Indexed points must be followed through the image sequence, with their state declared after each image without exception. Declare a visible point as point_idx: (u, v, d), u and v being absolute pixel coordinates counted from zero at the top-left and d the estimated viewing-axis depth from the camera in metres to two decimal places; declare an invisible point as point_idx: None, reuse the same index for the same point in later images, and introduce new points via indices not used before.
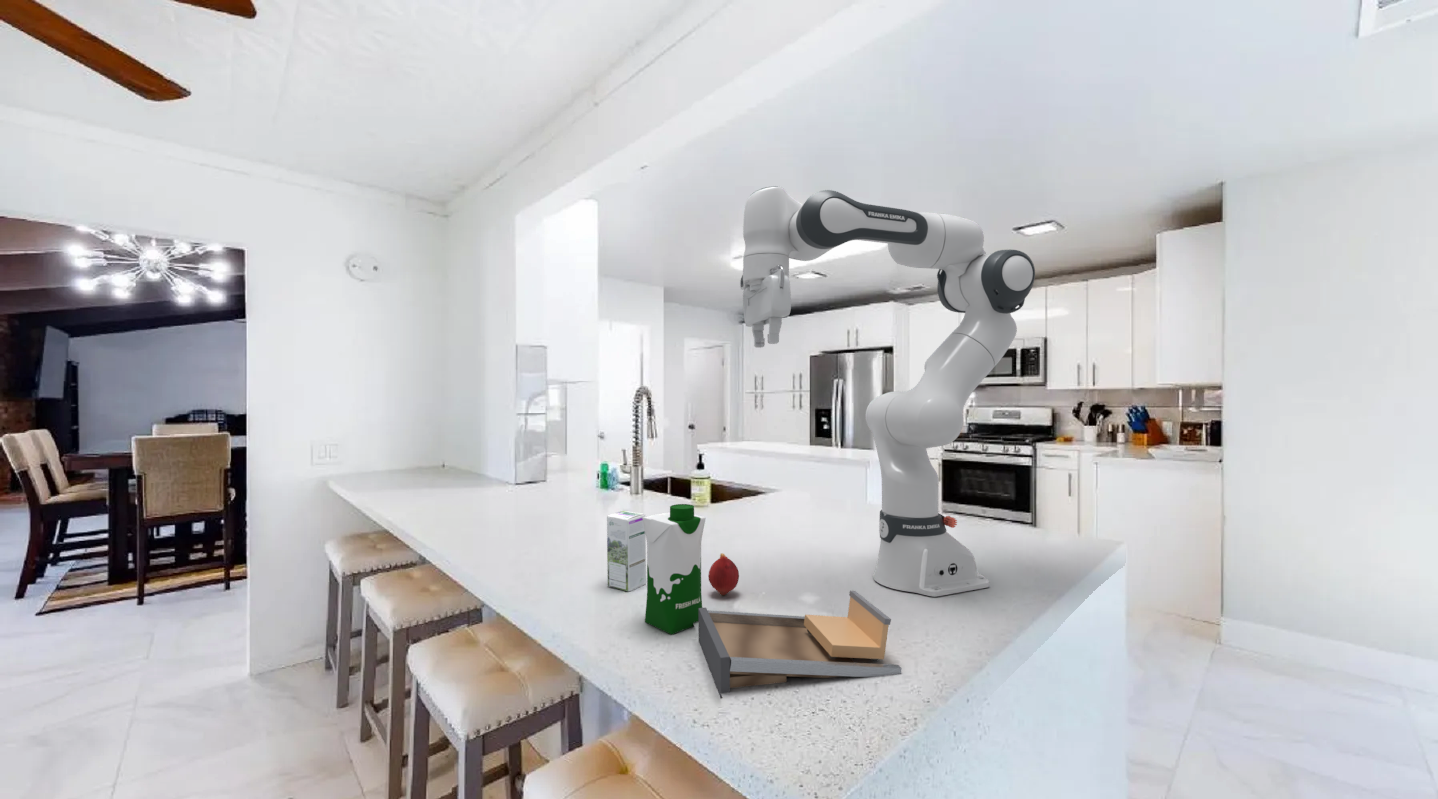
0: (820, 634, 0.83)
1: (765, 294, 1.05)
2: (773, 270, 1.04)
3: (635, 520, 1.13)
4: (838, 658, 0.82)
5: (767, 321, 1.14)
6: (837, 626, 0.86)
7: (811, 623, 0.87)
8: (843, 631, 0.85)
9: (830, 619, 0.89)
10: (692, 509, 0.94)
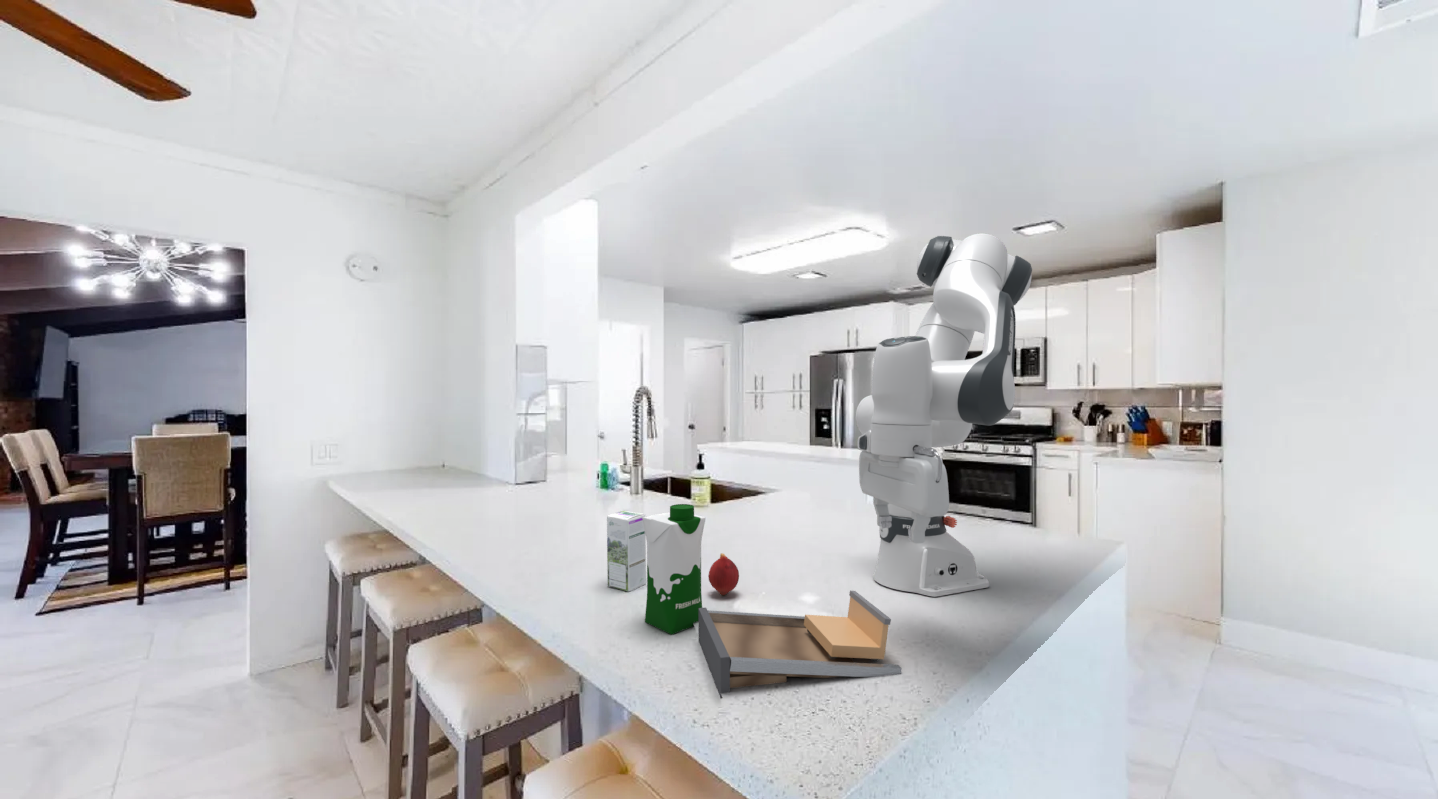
0: (820, 634, 0.83)
1: (908, 479, 0.82)
2: (921, 451, 0.80)
3: (635, 520, 1.13)
4: (838, 658, 0.82)
5: None
6: (837, 626, 0.86)
7: (811, 623, 0.87)
8: (843, 631, 0.85)
9: (830, 619, 0.89)
10: (692, 509, 0.94)
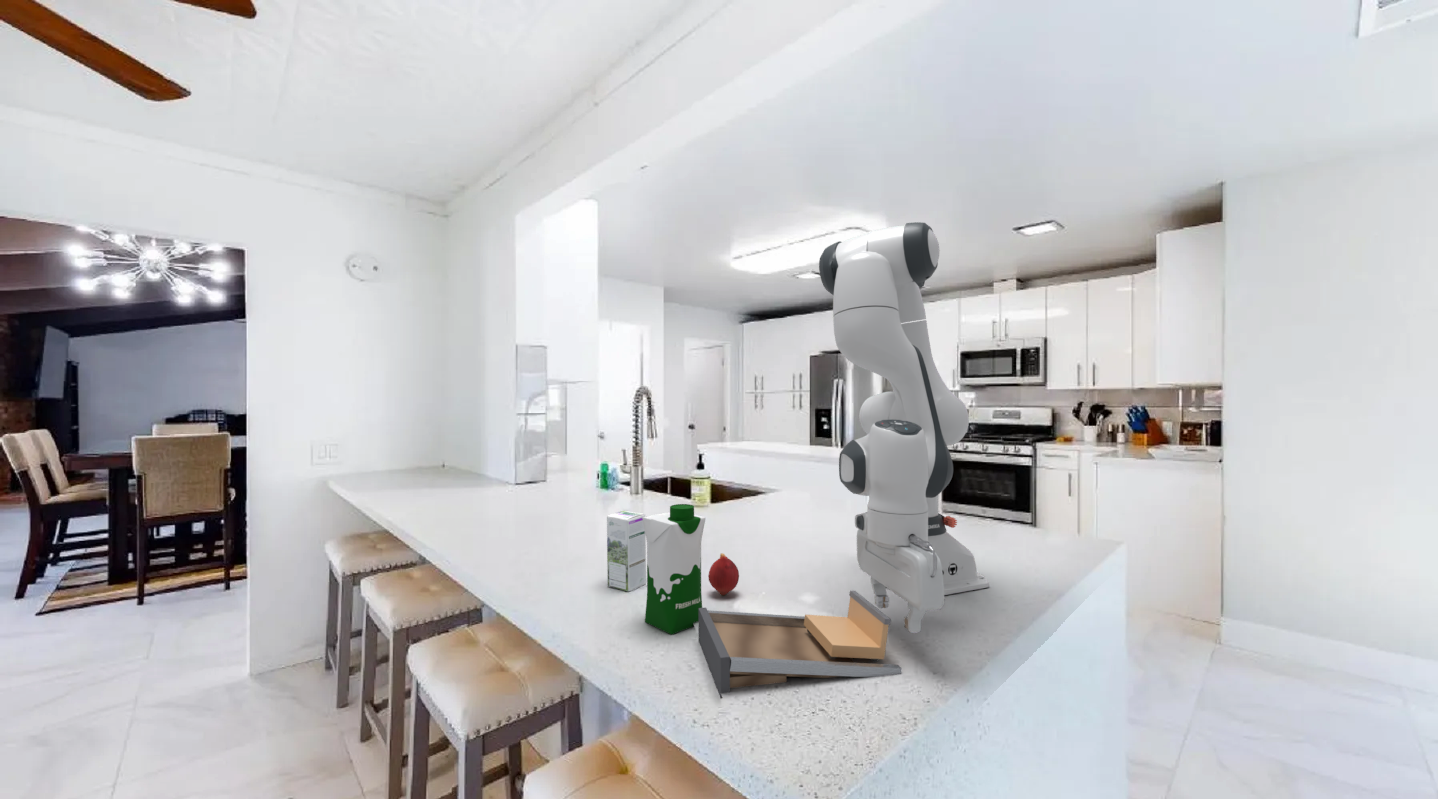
0: (820, 634, 0.83)
1: (903, 569, 0.82)
2: (916, 543, 0.80)
3: (635, 520, 1.13)
4: (838, 658, 0.82)
5: None
6: (837, 626, 0.86)
7: (811, 623, 0.87)
8: (843, 631, 0.85)
9: (830, 619, 0.89)
10: (692, 509, 0.94)
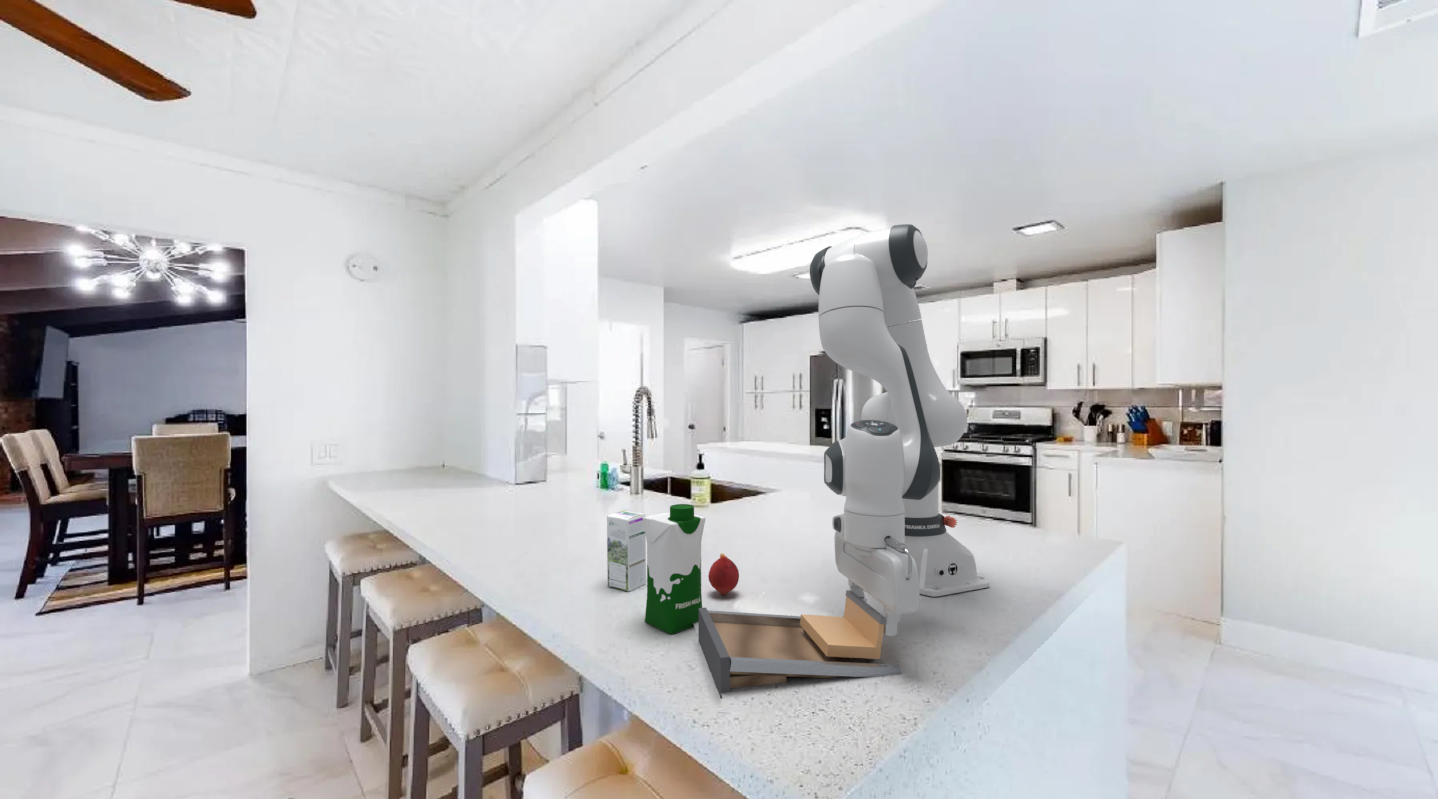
0: (816, 633, 0.83)
1: (879, 571, 0.81)
2: (892, 545, 0.80)
3: (635, 520, 1.13)
4: (838, 658, 0.82)
5: None
6: (833, 626, 0.86)
7: (807, 623, 0.87)
8: (839, 631, 0.85)
9: (826, 618, 0.89)
10: (692, 509, 0.94)
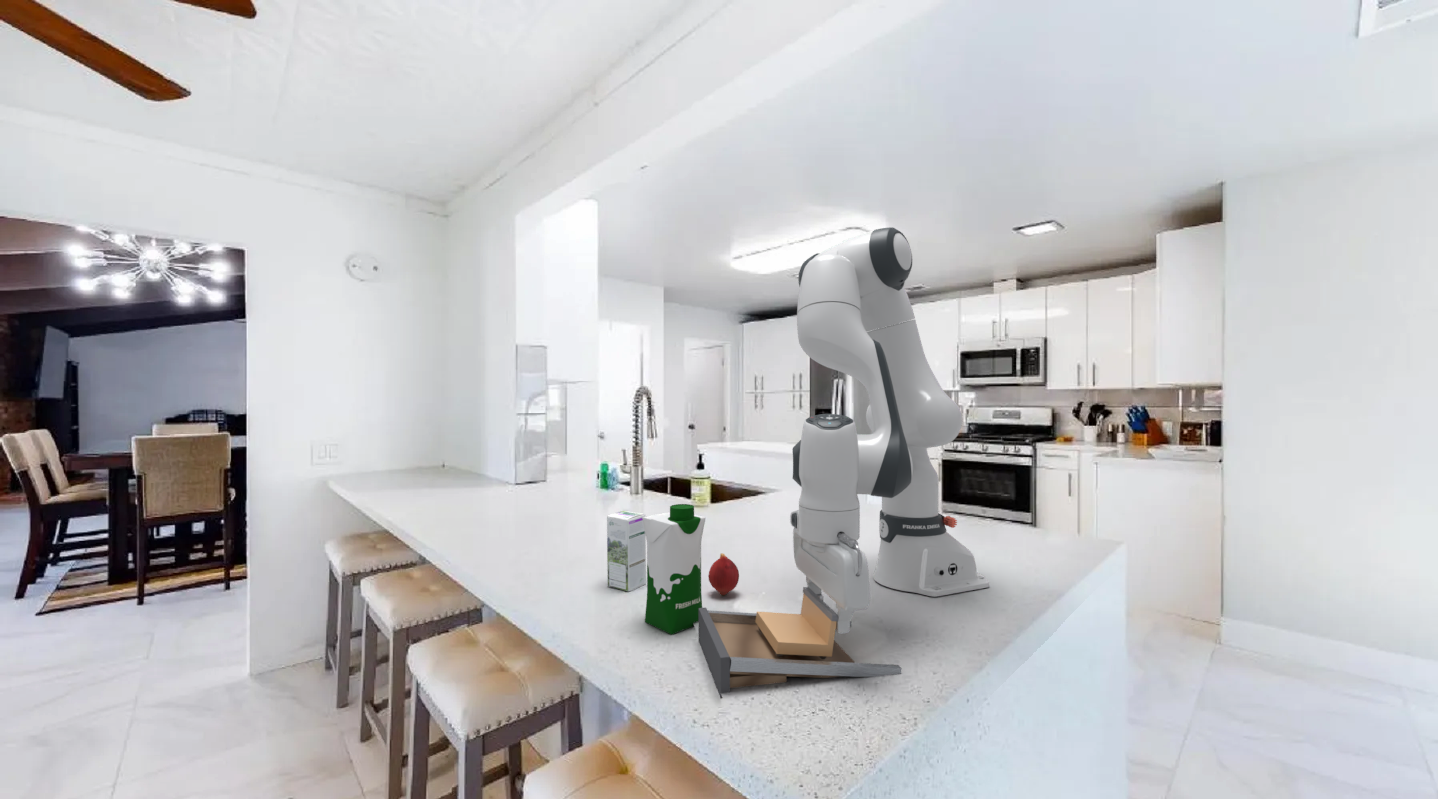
0: (768, 631, 0.82)
1: (832, 568, 0.79)
2: (844, 541, 0.78)
3: (635, 520, 1.13)
4: (838, 658, 0.82)
5: None
6: (787, 623, 0.85)
7: (761, 620, 0.85)
8: (792, 628, 0.83)
9: (781, 616, 0.88)
10: (692, 509, 0.94)
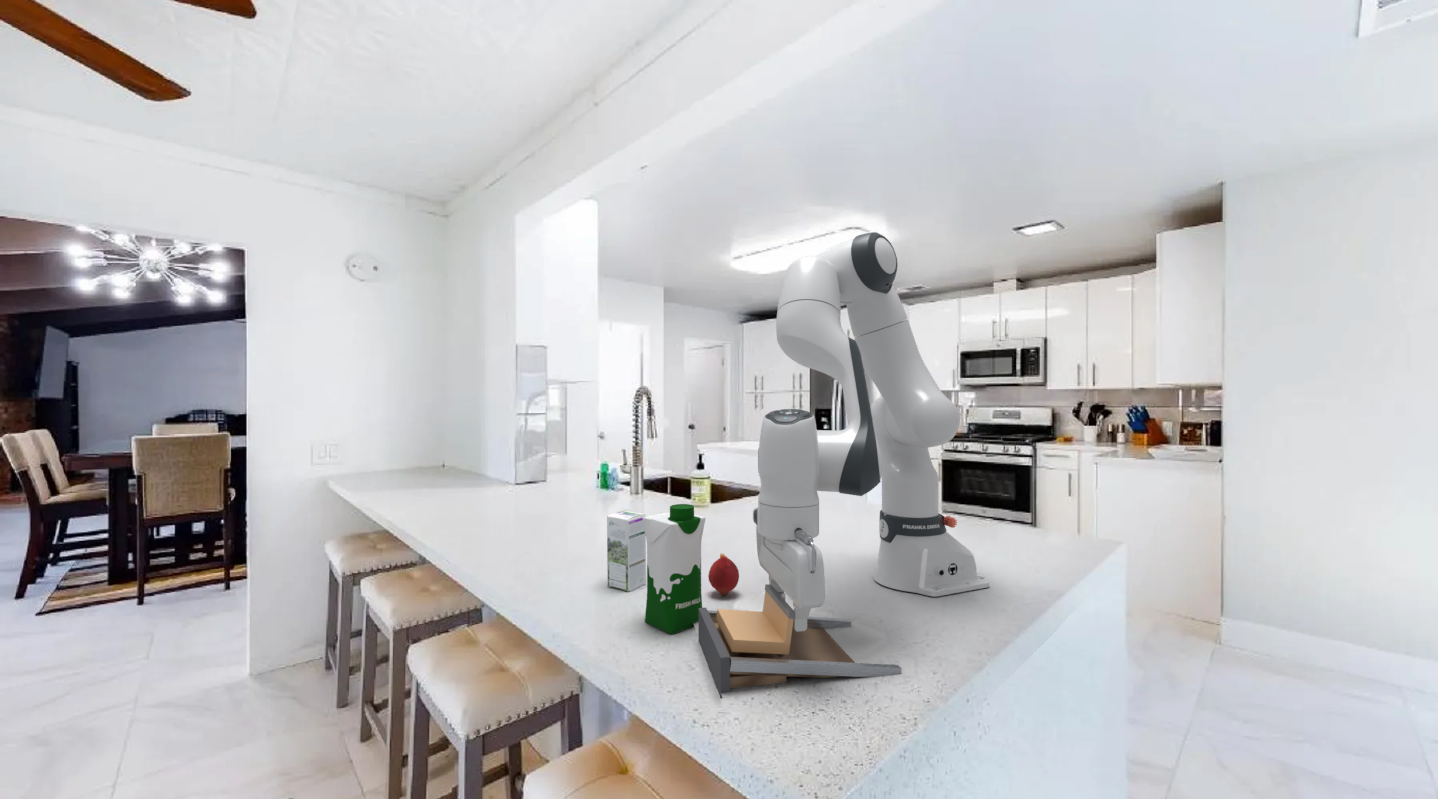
0: (726, 628, 0.80)
1: (789, 565, 0.78)
2: (800, 537, 0.77)
3: (635, 520, 1.13)
4: (838, 658, 0.82)
5: None
6: (747, 621, 0.83)
7: (721, 617, 0.84)
8: (751, 625, 0.82)
9: (742, 613, 0.86)
10: (692, 509, 0.94)
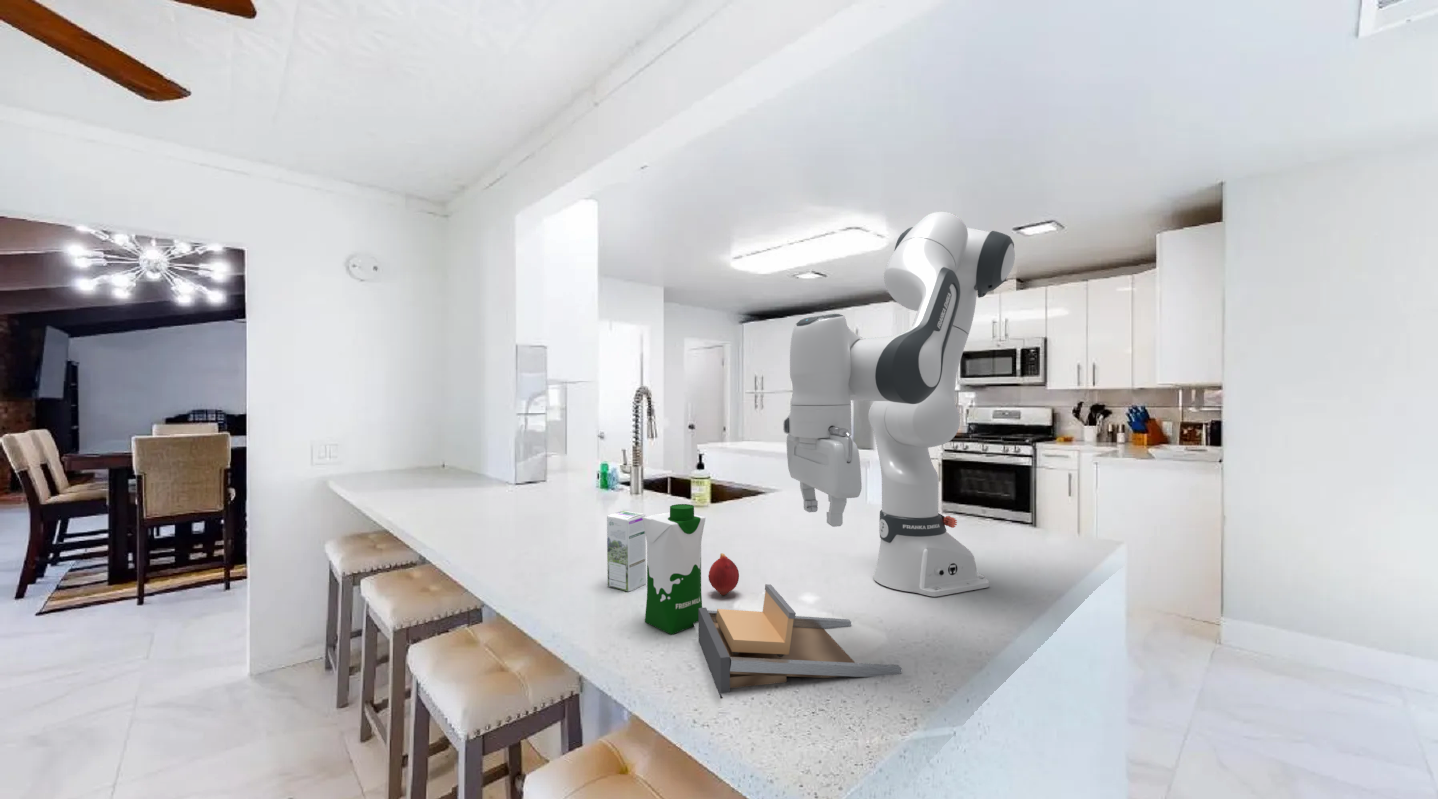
0: (726, 628, 0.80)
1: (823, 461, 0.79)
2: (835, 432, 0.78)
3: (635, 520, 1.13)
4: (838, 658, 0.82)
5: None
6: (747, 621, 0.83)
7: (721, 617, 0.84)
8: (751, 625, 0.82)
9: (742, 613, 0.86)
10: (692, 509, 0.94)
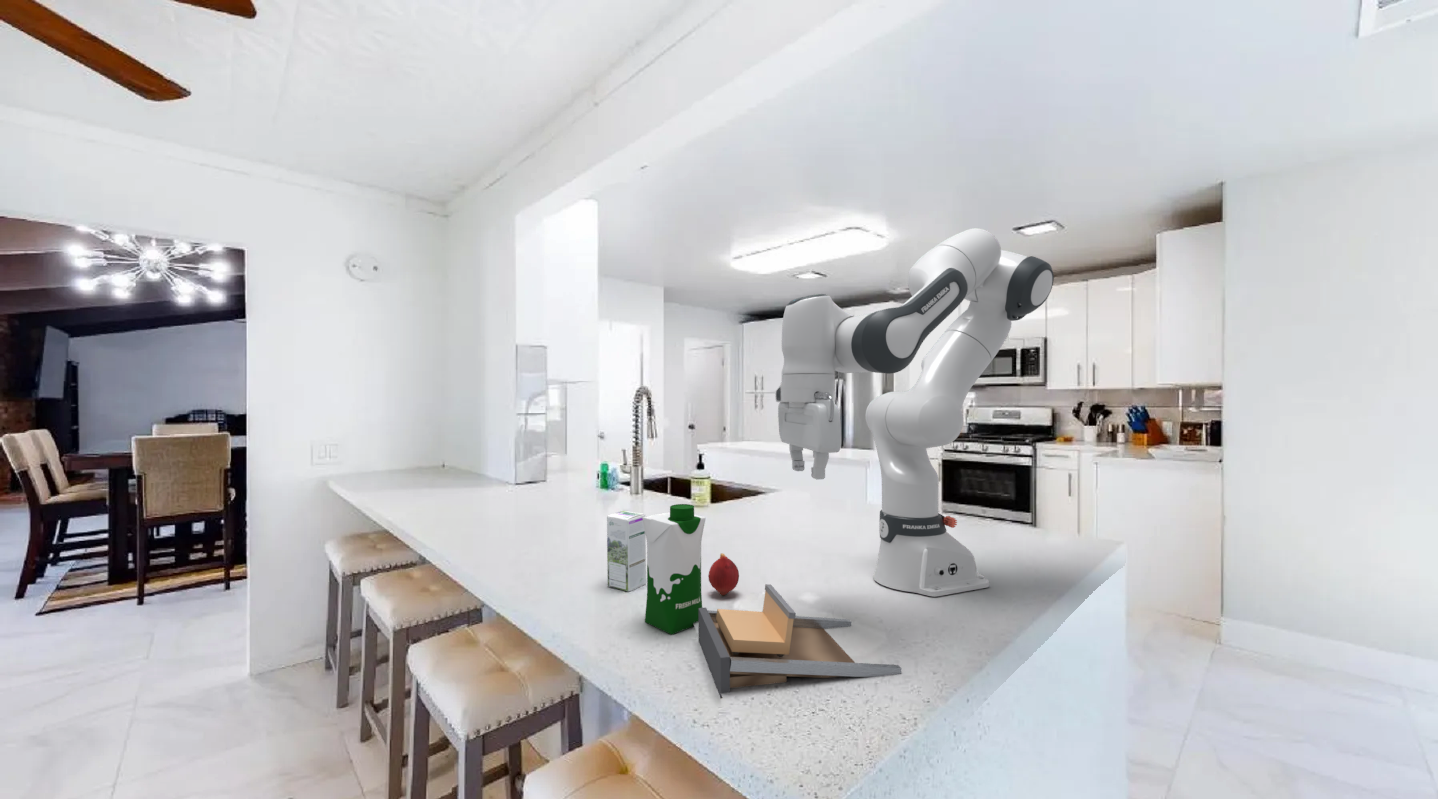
0: (726, 628, 0.80)
1: (809, 422, 0.91)
2: (819, 396, 0.89)
3: (635, 520, 1.13)
4: (838, 658, 0.82)
5: None
6: (747, 621, 0.83)
7: (721, 617, 0.84)
8: (751, 625, 0.82)
9: (742, 613, 0.86)
10: (692, 509, 0.94)
